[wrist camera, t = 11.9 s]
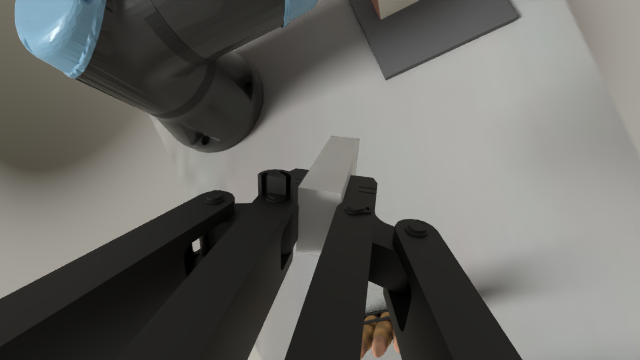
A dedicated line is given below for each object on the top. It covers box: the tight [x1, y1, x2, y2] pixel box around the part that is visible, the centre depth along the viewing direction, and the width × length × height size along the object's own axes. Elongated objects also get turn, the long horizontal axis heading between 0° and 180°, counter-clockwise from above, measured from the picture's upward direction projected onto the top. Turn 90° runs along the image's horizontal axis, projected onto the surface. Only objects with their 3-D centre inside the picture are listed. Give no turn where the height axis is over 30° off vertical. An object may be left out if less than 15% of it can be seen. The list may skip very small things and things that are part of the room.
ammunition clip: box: [360, 309, 400, 359], centre depth 28 cm, size 11×2×12 cm, turn 105°
